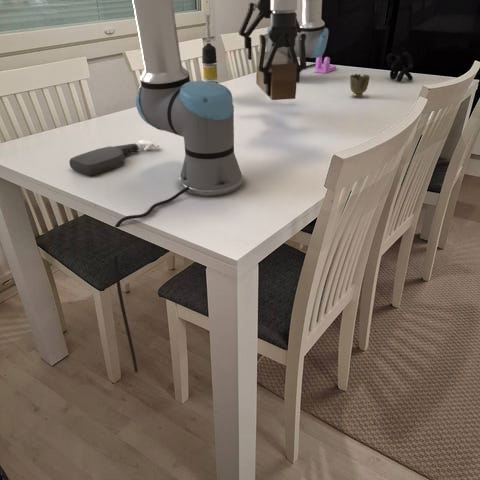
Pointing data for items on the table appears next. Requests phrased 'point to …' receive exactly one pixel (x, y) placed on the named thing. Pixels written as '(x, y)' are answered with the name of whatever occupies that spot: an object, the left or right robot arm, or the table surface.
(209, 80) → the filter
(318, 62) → the bracket
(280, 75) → the box
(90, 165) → the spray bottle
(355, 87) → the cup
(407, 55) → the squiggle
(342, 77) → the table surface
